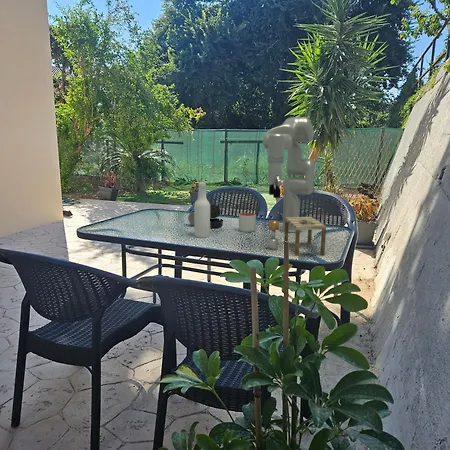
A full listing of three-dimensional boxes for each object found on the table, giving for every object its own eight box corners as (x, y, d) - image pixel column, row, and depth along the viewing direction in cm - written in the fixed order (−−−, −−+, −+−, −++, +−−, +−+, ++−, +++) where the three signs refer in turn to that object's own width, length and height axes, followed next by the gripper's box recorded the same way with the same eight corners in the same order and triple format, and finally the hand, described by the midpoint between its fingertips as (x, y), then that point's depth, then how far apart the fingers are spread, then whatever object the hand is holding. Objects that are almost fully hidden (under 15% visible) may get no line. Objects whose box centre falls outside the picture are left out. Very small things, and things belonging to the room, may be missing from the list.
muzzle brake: (221, 219, 268) (221, 204, 265) (200, 228, 243) (200, 211, 241) (208, 218, 272) (208, 203, 269) (187, 226, 247) (186, 210, 245)
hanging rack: (284, 243, 209) (285, 217, 206) (310, 243, 210) (311, 216, 207) (295, 255, 187) (296, 226, 184) (324, 255, 189) (326, 226, 186)
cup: (244, 228, 243) (244, 212, 241) (258, 230, 237) (259, 214, 235) (235, 231, 235) (235, 214, 233) (249, 233, 230) (250, 216, 227)
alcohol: (212, 237, 220) (212, 183, 214) (197, 238, 218) (196, 183, 211) (207, 233, 229) (207, 181, 222) (192, 234, 226) (192, 182, 219)
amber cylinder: (266, 247, 201) (267, 220, 198) (276, 247, 202) (277, 220, 199) (268, 250, 196) (269, 222, 193) (278, 249, 197) (279, 222, 194)
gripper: (264, 159, 198) (263, 193, 201) (271, 161, 181) (270, 198, 184) (279, 159, 198) (278, 193, 202) (288, 161, 182) (286, 198, 185)
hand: (274, 196), depth 193 cm, fingers open, 9 cm apart
